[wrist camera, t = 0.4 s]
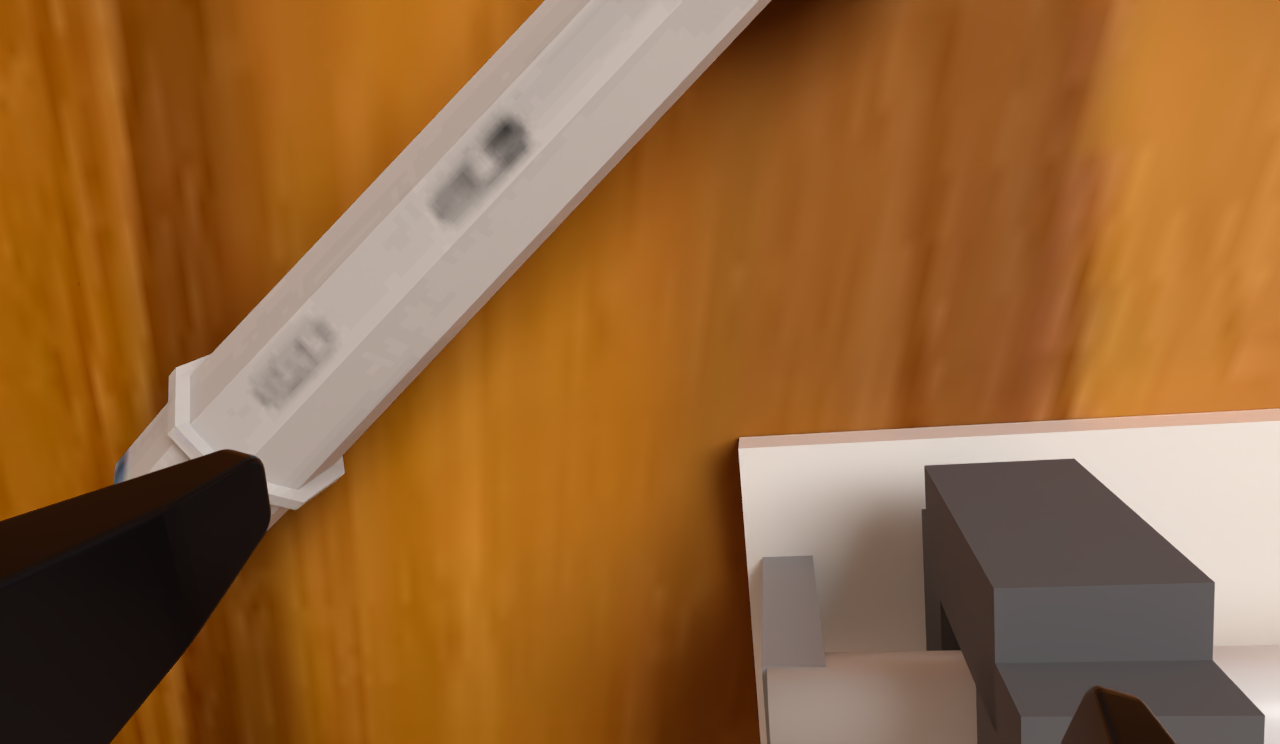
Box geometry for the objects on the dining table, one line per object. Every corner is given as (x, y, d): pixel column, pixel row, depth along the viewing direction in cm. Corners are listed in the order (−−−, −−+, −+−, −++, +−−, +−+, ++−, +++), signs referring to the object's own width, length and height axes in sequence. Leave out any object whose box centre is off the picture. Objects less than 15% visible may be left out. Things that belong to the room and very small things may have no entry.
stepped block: (1066, 784, 21) (1246, 1144, 13) (931, 783, 21) (1027, 1130, 13) (1064, 450, 19) (1268, 629, 11) (919, 456, 20) (1019, 634, 12)
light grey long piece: (45, 463, 21) (895, -603, 12) (232, 380, 27) (886, -364, 18) (199, 623, 21) (1145, -299, 12) (349, 505, 28) (1053, -166, 18)
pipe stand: (1572, 720, 21) (1980, 991, 14) (761, 724, 24) (758, 949, 17) (1609, 390, 20) (2088, 505, 12) (739, 437, 22) (726, 552, 15)
